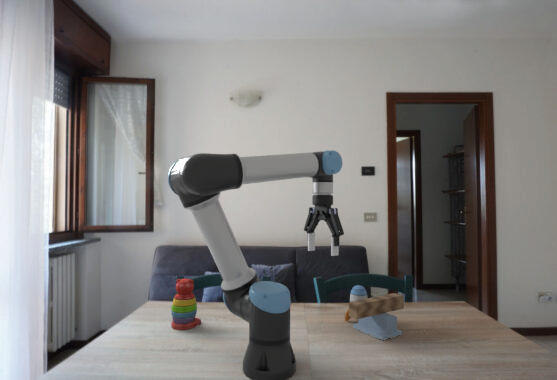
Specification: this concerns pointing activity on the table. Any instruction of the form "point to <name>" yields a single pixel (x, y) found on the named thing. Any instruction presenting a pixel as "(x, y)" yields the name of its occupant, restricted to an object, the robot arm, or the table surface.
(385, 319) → the slate ridge
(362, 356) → the table surface
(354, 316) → the walnut bar
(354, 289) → the toy rocket
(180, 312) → the stacking bear
